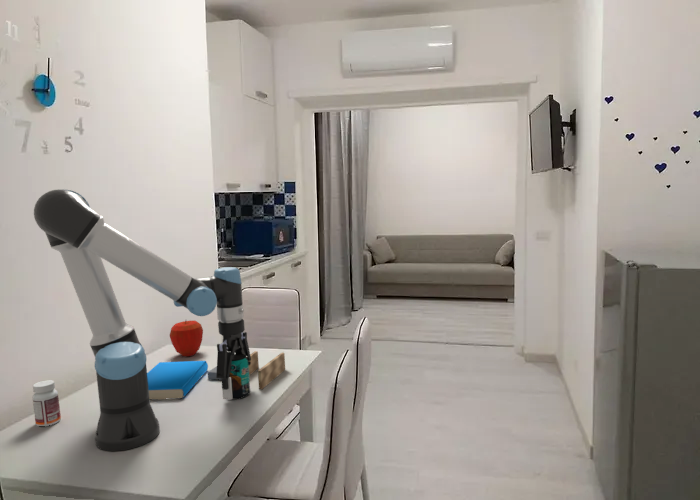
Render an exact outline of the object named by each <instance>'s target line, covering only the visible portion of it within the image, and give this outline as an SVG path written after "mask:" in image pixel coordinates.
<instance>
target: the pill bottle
mask: <svg viewBox="0 0 700 500" xmlns="http://www.w3.org/2000/svg"><path fill="white" fill-rule="evenodd" d="M32 388H33V389H32V390H33V393H34V394H33V395H32V404H33V412H34V413H33V414H34V421H35V425H36V426H37V427H39V426H45V427H50V426H53V425H56V424H57V423H59V422H60V421H61V419H62V415H61V414H62V413H61V407H60V401H59V392H58V390H57V389H56V385H55V380H52V379H48V380H42V381H38V382H36V383H34V384H33V385H32ZM52 424H53V425H52ZM49 425H50V426H49Z"/></svg>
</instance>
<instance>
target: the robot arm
mask: <svg viewBox="0 0 700 500" xmlns="http://www.w3.org/2000/svg"><path fill="white" fill-rule="evenodd" d="M33 218H34V221H35V222H36V225H37V226H38V227H39V229H40V230H42V231H43V232H44V233H45V235H46V238H47V241H48V244H49V245H50V247H51V249H53V250H55V251H58V252H59V253H60V255H61V257H62V260H63V263H64V266H65V269H66V270H67V273H68V275H69V278H70V281H71V283H72V286H73V288H74V290H75V293H76V296H77V298H78V301H79V302H80V306H81V308H82V310H83V313H84V316H85V318H86V320H87V323H88V326H89V329H90V331H91V333H92V337H91V339H90V341H89V346H90V348H91V351H92V353H93V355H94V370H95V372H96V373H95V374H96V375H95V376H96V382H97V383H96V384H97V392H98V402H99V412H100V413H99V418H98V422H97V428H96V432H95V435H94V439H95V440H94V441H95V445H96V447H97V448H98V449H99V450H102V451H107V452H119V451H120V452H121V451H126V450H131V449H134V448H135V449H136V448H138V447H141V446H143V445H146V444H148V443H150V442H151V441H153V440H154V439H156V438H157V437H158V436H159V434H160V431H161V430H160V422H159V419H158V418H157V416H156V415H155V412H154V410H153V407H152V405H151V402H150V401H151V400H149V389H148V378H147V373H148V369H147V353H146V352H145V348H144V347H143V345H142V344H141V342H140V339H139V338H138V335H137V332H136V330H135V328H134V326H133V325H131V324H128V323H126V321H125V318H124V315H123V312H122V309H121V307H120V304H119V302H118V299H117V296H116V294H115V292H114V289H113V286H112V283H111V280H110V278H109V276H108V272H107V270H106V267H105V265H104V263H103V262H104V261H103V260H105V261H107V262H108V263H110V264H111V265H113V266H115V267H116V268H118V269H120V271H121V270H122V271H123V272H125V273H126V274H128V275H130V276H132V277H134V278H135V279H137V280H139V281H140V282H142V283H144V284H145V285H147V286H149V287H150V288H152V289H154V290H155V291H157V292H158V293H160V294H162V295H163V296H166V297H167V298H169V299H170V300H172V301H173V304H174V306H175V307H183V308H185V309H187V310H188V311H189V312H190V313H191V314H193V315H195V316H197V317H206V316H208V315H210V314H212V313H213V312H214V311H215V309H216V313H217V320H218V322H217V324H218V325H217V327H218V333H219V335H221V336H222V342H221V343H217V344H216V349H217V360H216V366H217V374H216V377H217V378H220V379H221V380H220V381H221V388H222V400H230V401H232V400H234V399H233V396H232V383H231V377H229V375H230V369H231V363H232V357H233V355H234V354H244V355H246V359H247V360H248V361H251V356H250V354H251V352H250V348H249V343H248V335H247V334H248V333H247V332H246V331H245V330H246V329H245V320H244V319H243V318H244V311H245V310H244V306H243V290H242V287H243V286H242V284H243V282H242V277H241V271H240V269H239V268H237V267H234V266H233V267H231V266H230V267H229V266H228V267H227V266H226V267H221V268H219V267H218V268H216V269H215V270H214V271H213V272H214V273H213V275H212V276H208V277H196V278H193V277H192V276H190V275H189V274H187V273H186V272H184V271H183V270H182V269H179V268H178V267H176V266H175V265H173V264H171V263H170V262H168V261H166V260H165V259H163V258H162V257H161V256H158V254H156V253H154V252H152V251H150V250H149V249H148V248H146V247H144V246H143V245H142V244H139V243H138V242H137V241H135V240H133V239H132V238H130V237H128V236H127V235H125V234H124V233H122V232H120V231H119V230H117V229H115V228H114V227H112V226H111V225H109V224H107V223H106V222H105V219H104V216H102V215H101V214H99V213H98V212H96V211H95V210H93V209H92V208H91V206H90V204H89V202H88V201H87V200H86V198H85V197H84V196H83V195H82V194H80V193H79V192H76V191H75V190H74V191H73V190H72V189H71V190H70V189H65V188H64V189H53V190H49V191H47V192H45V193H43V194H42V195H41V196H40V197H39V198H38V199H37V200H36V202H35V204H34V208H33ZM250 364H251V362H248V365H250Z"/></svg>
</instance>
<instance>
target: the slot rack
mask: <svg viewBox="0 0 700 500" xmlns="http://www.w3.org/2000/svg"><path fill="white" fill-rule="evenodd" d="M250 356H251V361H248V362H251V364H250V365H248V366H249V376H250V375H252V374H253V373H254V372H255V371H257V379H258V389H259V390H263V389H264V388H266V387H267V386H268V385H269V384H270V383H272V382H273V381H274V380H275V379H276V378H277V377H279V375H281V374H282V373H283V372H285V371H286V360H285V359H286V358H285V357H286V356H285V352H280V353H279V354H278V355H276V356H275V357H274V358H272V359H271V360H270V361H268V362H267V363H266V364H264V365H263V366H262V367H260V365H259V352H258V350H257V351H256V350H255V351H252V352H251V353H250Z"/></svg>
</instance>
